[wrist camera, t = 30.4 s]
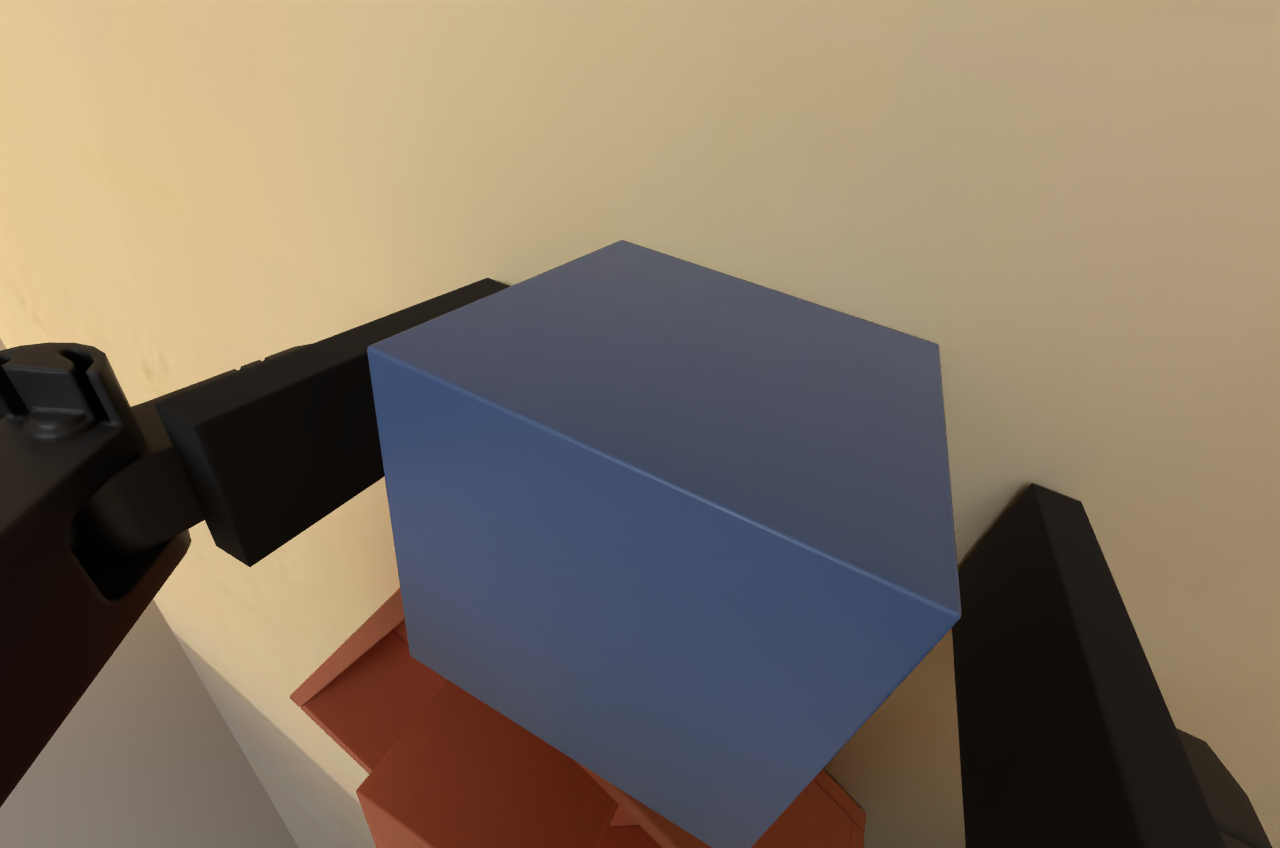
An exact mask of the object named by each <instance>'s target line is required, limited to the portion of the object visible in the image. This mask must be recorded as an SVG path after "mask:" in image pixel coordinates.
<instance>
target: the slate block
mask: <svg viewBox="0 0 1280 848" xmlns="http://www.w3.org/2000/svg"><path fill="white" fill-rule="evenodd" d="M367 353H368V360H369V367H370V375H371V382H372V389H373V396H374V403H375V410H376V417H377V424H378V432H379V439H380V446H381V453H382V460H383V467H384V474H385V481H386V489H387V496H388V503H389V510H390V517H391V524H392V531H393V538H394V546H395V553H396V560H397V567H398V574H399V581H400V588H401V595H402V603H403V610H404V617H405V624H406V631H407V638H408V645H409V652H410V656H411V657H413V658H414V659H416V660H417V661H419V662H421V663H422V664H424V665H425V666H427V667H428V668H430V669H432V670H433V671H435V672H436V673H438V674H439V675H441V676H443V677H444V678H446V679H447V680H449V681H451V682H452V683H454V684H455V685H457V686H458V687H460V688H462V689H463V690H465V691H466V692H468V693H469V694H471V695H473V696H474V697H476V698H477V699H479V700H480V701H482V702H484V703H485V704H487V705H488V706H490V707H491V708H493V709H495V710H496V711H498V712H499V713H501V714H502V715H504V716H506V717H507V718H509V719H510V720H512V721H514V722H515V723H517V724H518V725H520V726H521V727H523V728H525V729H526V730H528V731H529V732H531V733H532V734H534V735H536V736H537V737H539V738H540V739H542V740H543V741H545V742H547V743H548V744H550V745H551V746H553V747H554V748H556V749H558V750H559V751H561V752H562V753H564V754H565V755H567V756H569V757H570V758H572V759H573V760H575V761H576V762H578V763H580V764H581V765H583V766H584V767H586V768H588V769H589V770H591V771H592V772H594V773H595V774H597V775H599V776H600V777H602V778H603V779H605V780H606V781H608V782H610V783H611V784H613V785H614V786H616V787H617V788H619V789H621V790H622V791H624V792H625V793H627V794H628V795H630V796H632V797H633V798H635V799H636V800H638V801H639V802H641V803H643V804H644V805H646V806H647V807H649V808H651V809H652V810H654V811H655V812H657V813H658V814H660V815H662V816H663V817H665V818H666V819H668V820H669V821H671V822H673V823H674V824H676V825H677V826H679V827H680V828H682V829H684V830H685V831H687V832H688V833H690V834H691V835H693V836H695V837H696V838H698V839H699V840H701V841H702V842H704V843H706V844H707V845H709V846H710V847H712V848H751V847H752V846H753V845H754V844H755V843H756V842H757V840H758V839H759V838H760V837H761V836H762V835H763V834H764V833H765V832H766V831H767V829H768V828H769V827H770V826H771V825H772V824H773V823H774V822H775V821H776V820H777V819H778V817H779V816H780V815H781V814H782V813H783V812H784V811H785V810H786V809H787V808H788V806H789V805H790V804H791V803H792V802H793V801H794V800H795V799H796V798H797V797H798V796H799V794H800V793H801V792H802V791H803V790H804V789H805V788H806V787H807V786H808V785H809V783H810V782H811V781H812V780H813V779H814V778H815V777H816V776H817V775H818V774H819V772H820V771H821V770H822V769H823V768H824V767H825V766H826V765H827V764H828V763H829V762H830V760H831V759H832V758H833V757H834V756H835V755H836V754H837V753H838V752H839V751H840V749H841V748H842V747H843V746H844V745H845V744H846V743H847V742H848V741H849V740H850V738H851V737H852V736H853V735H854V734H855V733H856V732H857V731H858V730H859V729H860V728H861V726H862V725H863V724H864V723H865V722H866V721H867V720H868V719H869V718H870V717H871V715H872V714H873V713H874V712H875V711H876V710H877V709H878V708H879V707H880V706H881V705H882V703H883V702H884V701H885V700H886V699H887V698H888V697H889V696H890V695H891V694H892V692H893V691H894V690H895V689H896V688H897V687H898V686H899V685H900V684H901V683H902V681H903V680H904V679H905V678H906V677H907V676H908V675H909V674H910V673H911V672H912V671H913V669H914V668H915V667H916V666H917V665H918V664H919V663H920V662H921V661H922V660H923V658H924V657H925V656H926V655H927V654H928V653H929V652H930V651H931V650H932V649H933V648H934V646H935V645H936V644H937V643H938V642H939V641H940V640H941V639H942V638H943V637H944V635H945V634H946V633H947V632H948V631H949V630H950V629H951V628H952V627H953V626H954V624H955V623H956V622H957V621H958V620H959V619H960V617H961V602H960V590H959V578H958V566H957V555H956V543H955V531H954V519H953V508H952V496H951V484H950V472H949V461H948V449H947V437H946V425H945V414H944V402H943V390H942V378H941V367H940V355H939V345H938V344H936V343H933V342H930V341H927V340H924V339H921V338H918V337H915V336H911V335H908V334H905V333H902V332H899V331H896V330H893V329H890V328H887V327H884V326H881V325H878V324H875V323H872V322H869V321H866V320H863V319H860V318H857V317H854V316H851V315H848V314H845V313H842V312H839V311H836V310H833V309H830V308H826V307H823V306H820V305H817V304H814V303H811V302H808V301H805V300H802V299H799V298H796V297H793V296H790V295H787V294H784V293H781V292H778V291H775V290H772V289H769V288H766V287H763V286H760V285H757V284H754V283H751V282H748V281H745V280H742V279H738V278H735V277H732V276H729V275H726V274H723V273H720V272H717V271H714V270H711V269H708V268H705V267H702V266H699V265H696V264H693V263H690V262H687V261H684V260H681V259H678V258H675V257H672V256H669V255H666V254H663V253H660V252H657V251H653V250H650V249H647V248H644V247H641V246H638V245H635V244H632V243H629V242H626V241H623V240H621V241H618V242H616V243H613V244H611V245H609V246H606V247H604V248H601V249H599V250H597V251H594V252H592V253H590V254H587V255H585V256H582V257H580V258H578V259H575V260H573V261H570V262H568V263H566V264H563V265H561V266H559V267H556V268H554V269H551V270H549V271H547V272H544V273H542V274H539V275H537V276H535V277H532V278H530V279H528V280H525V281H523V282H520V283H518V284H516V285H513V286H511V287H508V288H506V289H504V290H501V291H499V292H497V293H494V294H492V295H489V296H487V297H485V298H482V299H480V300H477V301H475V302H473V303H470V304H468V305H465V306H463V307H461V308H458V309H456V310H454V311H451V312H449V313H446V314H444V315H442V316H439V317H437V318H434V319H432V320H430V321H427V322H425V323H423V324H420V325H418V326H415V327H413V328H411V329H408V330H406V331H403V332H401V333H399V334H396V335H394V336H392V337H389V338H387V339H384V340H382V341H380V342H377V343H375V344H372V345H370V346H369V347H368V348H367Z"/></svg>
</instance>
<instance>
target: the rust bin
mask: <svg viewBox="0 0 1280 848" xmlns="http://www.w3.org/2000/svg"><path fill="white" fill-rule="evenodd" d="M447 681H448V680H447V679H446V678H444V677H443V676H441V675H439V674H438V673H436V672H435V671H433V670H432V669H430V668H428V667H427V666H425V665H424V664H422V663H421V662H419V661H417V660H416V659H414V658H413V657H411V656H410V652H409V645H408V638H407V631H406V624H405V617H404V610H403V603H402V595H401V588H399V589H398V590H397V591H396V592H395V593H394V594H393V595H392V596H391V597H390V598H389V599H388V600H387V601H386V602H385V603H384V604H383V605H382V606H381V607H380V608H379V609H378V610H377V611H376V612H375V613H374V614H373V615H372V616H371V617H370V618H369V619H368V620H367V621H366V622H365V623H364V624H363V625H362V626H361V627H360V628H359V629H358V630H357V631H356V632H354V633H353V634H352V635H351V636H350V637H349V638H348V639H347V640H346V641H345V642H344V643H343V644H342V645H341V646H340V647H339V648H338V649H337V650H336V651H335V652H334V653H333V654H332V655H331V656H330V657H329V658H328V659H327V660H326V661H325V662H324V663H323V664H322V665H321V666H320V667H319V668H318V669H317V670H316V671H315V672H314V673H313V674H312V675H311V676H310V677H309V678H308V679H307V680H306V681H305V682H304V683H303V684H302V685H301V686H300V687H299V688H298V689H297V690H296V691H294V692H293V693H292V694H291V696H290V699H291V700H293V701H294V702H295V703H296V704H297V705H298V706H299V707H301V706H302V707H301V709H302V710H303V711H304V712H305V713H306V714H307V715H308V716H309V717H310V718H311V719H312V720H313V721H314V722H315V723H316V724H317V725H318V726H320V727H321V728H322V729H323V730H324V731H325V732H326V733H327V734H328V735H329V736H330V737H331V738H332V739H333V740H334V741H335V742H336V743H337V744H338V745H339V746H340V747H342V748H343V749H344V750H345V751H346V752H347V753H348V754H349V755H350V756H351V757H352V758H353V759H354V760H355V761H356V762H357V763H358V764H359V765H360V766H361V767H363V768H364V769H365V770H366V771H367V772H368V773H369V774H370V773H371V772H372V771H373V770H374V769H375V767H376V766H377V765H378V764H379V763H380V761H381V760H382V759H383V758H384V757H385V755H386V754H387V753H388V752H389V751H390V749H391V748H392V747H393V746H394V745H395V743H396V742H397V741H398V740H399V739H400V737H401V736H402V735H403V734H404V733H405V731H406V730H407V729H408V728H409V727H410V725H411V724H412V723H413V722H414V721H415V719H416V718H417V717H418V716H419V715H420V713H421V712H422V711H423V710H424V709H425V707H426V706H427V705H428V704H429V703H430V701H431V700H432V699H433V698H434V697H435V695H436V694H437V693H438V692H439V691H440V689H441V688H442V687H443V686H444V685H445V683H446V682H447ZM577 763H578V762H577ZM578 764H579V765H580V766H581V767H582V768H583V769H584V770H585V771H586V772H587V773H588V774H589V775H590V776H591V777H592V778H593V779H594V780H595V781H596V782H597V783H598V784H599V785H600V786H601V787H602V788H603V789H604V790H605V791H606V792H607V793H608V794H609V795H610V796H611V797H612V798H613V799H614V800H615V801H616V802H617V803H618V804H619V805H618V808H617V810H616V812H615V815H614V817H613V819H612V821H611V824H610V826H609V828H608V831H607V833H606V835H605V838H604V840H603V842H602V844H601V847H600V848H712V847H710V846H709V845H707V844H706V843H704V842H702V841H701V840H699V839H698V838H696V837H695V836H693V835H691V834H690V833H688V832H687V831H685V830H684V829H682V828H680V827H679V826H677V825H676V824H674V823H673V822H671V821H669V820H668V819H666V818H665V817H663V816H662V815H660V814H658V813H657V812H655V811H654V810H652V809H651V808H649V807H647V806H646V805H644V804H643V803H641V802H639V801H638V800H636V799H635V798H633V797H632V796H630V795H628V794H627V793H625V792H624V791H622V790H621V789H619V788H617V787H616V786H614V785H613V784H611V783H610V782H608V781H606V780H605V779H603V778H602V777H600V776H599V775H597V774H595V773H594V772H592V771H591V770H589V769H588V768H586V767H584V766H583V765H581V764H580V763H578ZM865 824H866V813H865V812H864V811H863V810H862V809H861V808H860V807H859V806H858V805H857V804H856V803H855V802H854V801H853V800H852V799H851V798H850V797H849V795H848V794H847V793H846V792H845V791H844V790H843V789H842V788H841V787H840V786H839V785H838V784H837V783H836V782H835V781H834V780H833V779H832V778H831V777H830V776H829V775H828V774H827V773H826V772H825V771H824V769H822V770H821V771H820V772H819V774H818V775H817V776H816V777H815V778H814V779H813V780H812V781H811V782H810V783H809V785H808V786H807V787H806V788H805V789H804V790H803V791H802V792H801V793H800V794H799V796H798V797H797V798H796V799H795V800H794V801H793V802H792V803H791V804H790V805H789V806H788V808H787V809H786V810H785V811H784V812H783V813H782V814H781V815H780V816H779V817H778V819H777V820H776V821H775V822H774V823H773V824H772V825H771V826H770V827H769V828H768V829H767V831H766V832H765V833H764V834H763V835H762V836H761V837H760V838H759V839H758V840H757V842H756V843H755V844H754V845H753V846H752V847H751V848H863V845H864V831H865Z"/></svg>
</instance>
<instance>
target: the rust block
mask: <svg viewBox="0 0 1280 848" xmlns="http://www.w3.org/2000/svg"><path fill="white" fill-rule="evenodd" d="M356 793H357V795H358V798H359V801H360V804H361V806H362V809H363V812H364V814H365V817H366V820H367V823H368V825H369V828H370V831H371V834H372V836H373V839H374V842H375V845H376V847H377V848H600V847H601V844H602V842H603V840H604V838H605V835H606V833H607V831H608V828H609V826H610V824H611V821H612V819H613V817H614V815H615V812H616V810H617V808H618V805H619V804H618V803H617V802H616V801H615V800H614V799H613V798H612V797H611V796H610V795H609V794H608V793H607V792H606V791H605V790H604V789H603V788H602V787H601V786H600V785H599V784H598V783H597V782H596V781H595V780H594V779H593V778H592V777H591V776H590V775H589V774H588V773H587V772H586V771H585V770H584V769H583V768H582V767H581V766H580V765H579V764H578V763H577V762H576V761H575V760H573V759H572V758H570V757H569V756H567V755H565V754H564V753H562V752H561V751H559V750H558V749H556V748H554V747H553V746H551V745H550V744H548V743H547V742H545V741H543V740H542V739H540V738H539V737H537V736H536V735H534V734H532V733H531V732H529V731H528V730H526V729H525V728H523V727H521V726H520V725H518V724H517V723H515V722H514V721H512V720H510V719H509V718H507V717H506V716H504V715H502V714H501V713H499V712H498V711H496V710H495V709H493V708H491V707H490V706H488V705H487V704H485V703H484V702H482V701H480V700H479V699H477V698H476V697H474V696H473V695H471V694H469V693H468V692H466V691H465V690H463V689H462V688H460V687H458V686H457V685H455V684H454V683H452V682H451V681H449V680H448V681H447V682H446V683H445V685H444V686H443V687H442V688H441V689H440V691H439V692H438V693H437V694H436V695H435V697H434V698H433V699H432V700H431V701H430V703H429V704H428V705H427V706H426V707H425V709H424V710H423V711H422V712H421V713H420V715H419V716H418V717H417V718H416V719H415V721H414V722H413V723H412V724H411V725H410V727H409V728H408V729H407V730H406V731H405V733H404V734H403V735H402V736H401V737H400V739H399V740H398V741H397V742H396V743H395V745H394V746H393V747H392V748H391V749H390V751H389V752H388V753H387V754H386V755H385V757H384V758H383V759H382V760H381V761H380V763H379V764H378V765H377V766H376V767H375V769H374V770H373V771H372V772H371V773H370V775H369V776H368V777H367V778H366V779H365V781H364V782H363V783H362V784H361V785H360V787H359V788H358V789H357V791H356Z"/></svg>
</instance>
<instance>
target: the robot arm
mask: <svg viewBox="0 0 1280 848" xmlns="http://www.w3.org/2000/svg"><path fill="white" fill-rule="evenodd" d="M508 287H511V286H508V285H505V284H503V283H500V282H497V281H495V280H492V279H489V278H486V279H483V280H480V281H478V282H475V283H472V284H470V285H467V286H465V287H462V288H459V289H457V290H454V291H451V292H449V293H446V294H443V295H441V296H438V297H435V298H433V299H430V300H427V301H425V302H422V303H420V304H417V305H414V306H412V307H409V308H406V309H404V310H401V311H398V312H396V313H393V314H390V315H388V316H385V317H382V318H380V319H377V320H375V321H372V322H369V323H367V324H364V325H361V326H359V327H356V328H353V329H351V330H348V331H345V332H343V333H340V334H337V335H335V336H332V337H330V338H327V339H324V340H322V341H319V342H316V343H314V344H308V345H302V346H297V347H293V348H290V349H287V350H285V351H282V352H279V353H276V354H274V355H271V356H268V357H266V358H265V360H264V361H260V360H258V361H255V362H252V363H250V364H247V365H244V366H242V367H241V369H240V370H239V371H237V370H235V369H233V370H231V371H228V372H225V373H223V374H220V375H217V376H215V377H212V378H209V379H207V380H204V381H201V382H198V383H196V384H193V385H190V386H188V387H185V388H182V389H180V390H177V391H174V392H172V393H169V394H166V395H163V396H161V397H158V398H155V399H153V400H150V401H147V402H145V403H142V404H138V405H135V406H132V407H130V405H129V403H128V401H127V399H126V397H125V395H124V393H123V391H122V388H121V386H120V384H119V382H118V380H117V378H116V376H115V374H114V371H113V369H112V367H111V365H110V363H109V361H108V359H107V357H106V355H105V353H103V352H102V351H100V350H98V349H97V348H95V347H93V346H87V345H82V344H77V343H42V344H33V345H25V346H18V347H14V348H10V349H6V350H2V351H0V807H1V806H2V804H3V803H4V802H5V800H6V799H7V797H8V796H9V795H10V793H11V792H12V791H13V789H14V788H15V786H16V785H17V784H18V782H19V781H20V780H21V778H22V777H23V776H24V774H25V773H26V771H27V770H28V768H29V767H30V766H31V765H32V763H33V762H34V760H35V759H36V758H37V756H38V755H39V754H40V752H41V751H42V750H43V748H44V747H45V746H46V744H47V743H48V741H49V740H50V739H51V737H52V736H53V735H54V733H55V732H56V730H57V729H58V728H59V726H60V725H61V724H62V722H63V721H64V719H65V718H66V717H67V715H68V714H69V713H70V711H71V710H72V709H73V707H74V706H75V705H76V703H77V702H78V700H79V699H80V698H81V696H82V695H83V694H84V692H85V691H86V689H87V688H88V687H89V685H90V684H91V683H92V681H93V680H94V678H95V677H96V676H97V674H98V673H99V672H100V670H101V669H102V668H103V666H104V665H105V663H106V662H107V661H108V659H109V658H110V657H111V655H112V654H113V652H114V651H115V650H116V648H117V647H118V646H119V644H120V643H121V642H122V640H123V639H124V638H125V636H126V635H127V633H128V632H129V631H130V629H131V628H132V627H133V625H134V624H135V623H136V621H137V620H138V618H139V617H140V616H141V614H142V613H143V612H144V610H145V609H146V607H147V606H148V605H149V603H150V602H151V600H152V599H153V598H154V597H155V595H156V594H157V592H158V591H159V590H160V588H161V587H162V586H163V584H164V583H165V582H166V580H167V579H168V577H169V576H170V575H171V573H172V572H173V571H174V569H175V568H176V566H177V565H178V564H179V562H180V561H181V560H182V558H183V557H184V556H185V554H186V553H187V550H188V548H189V546H190V543H191V538H190V534H189V530H188V529H189V528H191V527H193V526H194V525H196V524H198V523H200V522H201V521H203V520H205V521H206V523H207V526H208V528H209V530H210V532H211V535H212V537H213V539H214V542H215V544H216V546H218V547H219V548H221V549H222V550H224V551H225V552H227V553H228V554H230V555H232V556H233V557H235V558H236V559H238V560H239V561H241V562H243V563H244V564H246V565H247V566H249V567H251V566H252V565H254V564H255V563H257V562H258V561H260V560H261V559H263V558H264V557H266V556H267V555H269V554H270V553H272V552H273V551H275V550H276V549H278V548H279V547H281V546H282V545H284V544H285V543H286V542H288V541H289V540H291V539H292V538H294V537H295V536H297V535H298V534H300V533H301V532H303V531H304V530H306V529H307V528H309V527H310V526H312V525H313V524H315V523H316V522H318V521H319V520H320V519H322V518H323V517H325V516H326V515H328V514H329V513H331V512H332V511H334V510H335V509H337V508H338V507H340V506H341V505H343V504H344V503H346V502H347V501H349V500H350V499H352V498H353V497H354V496H356V495H357V494H359V493H360V492H362V491H363V490H365V489H366V488H368V487H369V486H371V485H372V484H374V483H375V482H377V481H378V480H380V479H381V478H383V477H384V476H385V474H384V467H383V460H382V453H381V446H380V439H379V432H378V424H377V417H376V410H375V403H374V396H373V389H372V382H371V375H370V367H369V360H368V353H367V348H368V347H369V346H370V345H372V344H375V343H377V342H380V341H382V340H384V339H387V338H389V337H392V336H394V335H396V334H399V333H401V332H403V331H406V330H408V329H411V328H413V327H415V326H418V325H420V324H423V323H425V322H427V321H430V320H432V319H434V318H437V317H439V316H442V315H444V314H446V313H449V312H451V311H454V310H456V309H458V308H461V307H463V306H465V305H468V304H470V303H473V302H475V301H477V300H480V299H482V298H485V297H487V296H489V295H492V294H494V293H497V292H499V291H501V290H504V289H506V288H508ZM958 578H959V590H960V602H961V617H960V619H959V620H958V621H957V622H956V623H955V624H954V626H953V627H952V637H953V652H954V668H955V684H956V700H957V715H958V731H959V747H960V763H961V778H962V794H963V810H964V826H965V841H966V848H1272V846H1271V844H1270V842H1269V840H1268V837H1267V835H1266V833H1265V831H1264V829H1263V827H1262V825H1261V823H1260V821H1259V819H1258V817H1257V815H1256V813H1255V810H1254V808H1253V806H1252V804H1251V802H1250V800H1249V798H1248V796H1247V794H1246V793H1245V792H1244V791H1243V789H1242V788H1241V787H1240V785H1239V784H1238V783H1237V781H1236V780H1235V779H1234V778H1233V776H1232V775H1231V774H1230V772H1229V771H1228V770H1227V769H1226V767H1225V766H1224V765H1223V763H1222V762H1221V761H1220V760H1219V758H1218V757H1217V756H1216V754H1215V753H1214V752H1213V751H1212V749H1211V748H1210V747H1209V745H1208V744H1207V743H1206V742H1205V741H1203V740H1201V739H1198V738H1196V737H1194V736H1192V735H1190V734H1188V733H1185V732H1183V731H1181V730H1179V729H1177V728H1176V727H1175V725H1174V723H1173V720H1172V718H1171V715H1170V713H1169V711H1168V708H1167V706H1166V703H1165V701H1164V699H1163V696H1162V694H1161V691H1160V689H1159V687H1158V684H1157V682H1156V680H1155V677H1154V675H1153V672H1152V670H1151V668H1150V665H1149V663H1148V660H1147V658H1146V656H1145V653H1144V651H1143V648H1142V646H1141V644H1140V641H1139V639H1138V637H1137V634H1136V632H1135V629H1134V627H1133V625H1132V622H1131V620H1130V617H1129V615H1128V613H1127V610H1126V608H1125V605H1124V603H1123V601H1122V598H1121V596H1120V594H1119V591H1118V589H1117V586H1116V584H1115V582H1114V579H1113V577H1112V574H1111V572H1110V570H1109V567H1108V565H1107V562H1106V560H1105V558H1104V555H1103V553H1102V551H1101V548H1100V546H1099V543H1098V541H1097V539H1096V536H1095V534H1094V531H1093V529H1092V527H1091V524H1090V522H1089V519H1088V517H1087V515H1086V512H1085V510H1084V508H1083V505H1082V503H1081V501H1078V500H1075V499H1073V498H1070V497H1067V496H1065V495H1062V494H1059V493H1057V492H1054V491H1051V490H1049V489H1046V488H1044V487H1041V486H1038V485H1036V484H1033V483H1032V484H1031V485H1030V486H1029V487H1028V489H1027V490H1026V491H1025V492H1024V493H1023V495H1022V496H1021V497H1020V498H1019V499H1018V501H1017V502H1016V503H1015V504H1014V505H1013V507H1012V508H1011V509H1010V510H1009V511H1008V513H1007V514H1006V515H1005V516H1004V517H1003V519H1002V520H1001V521H1000V522H999V523H998V525H997V526H996V527H995V528H994V529H993V531H992V532H991V533H990V534H989V535H988V537H987V538H986V539H985V540H984V541H983V543H982V544H981V545H980V546H979V547H978V549H977V550H976V551H975V552H974V553H973V555H972V556H971V557H970V558H969V559H968V561H967V562H966V563H965V564H964V565H963V567H962V568H961V569H960V570H959V571H958Z"/></svg>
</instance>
